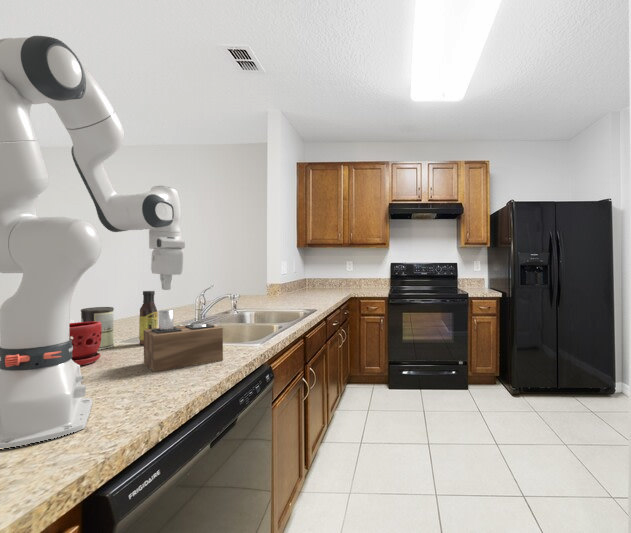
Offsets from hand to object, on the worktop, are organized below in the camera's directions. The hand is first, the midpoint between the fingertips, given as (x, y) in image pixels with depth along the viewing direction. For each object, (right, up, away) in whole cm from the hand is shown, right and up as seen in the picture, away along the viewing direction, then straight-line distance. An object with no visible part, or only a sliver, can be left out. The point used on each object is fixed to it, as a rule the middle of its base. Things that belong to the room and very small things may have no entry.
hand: (166, 289), depth 112 cm
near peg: (0, -17, 0) cm, 17 cm away
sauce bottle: (-18, -22, +30) cm, 42 cm away
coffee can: (-34, -23, +24) cm, 48 cm away
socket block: (+4, -22, +3) cm, 23 cm away
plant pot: (-28, -23, +3) cm, 36 cm away
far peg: (+8, -22, +6) cm, 24 cm away
